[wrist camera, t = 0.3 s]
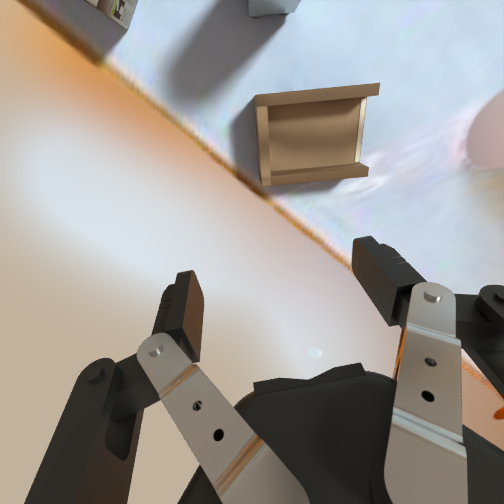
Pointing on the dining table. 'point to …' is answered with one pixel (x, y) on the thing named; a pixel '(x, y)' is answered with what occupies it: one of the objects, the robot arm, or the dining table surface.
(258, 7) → the brushed steel block
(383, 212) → the dining table surface
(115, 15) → the coffee box
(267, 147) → the wooden tray
